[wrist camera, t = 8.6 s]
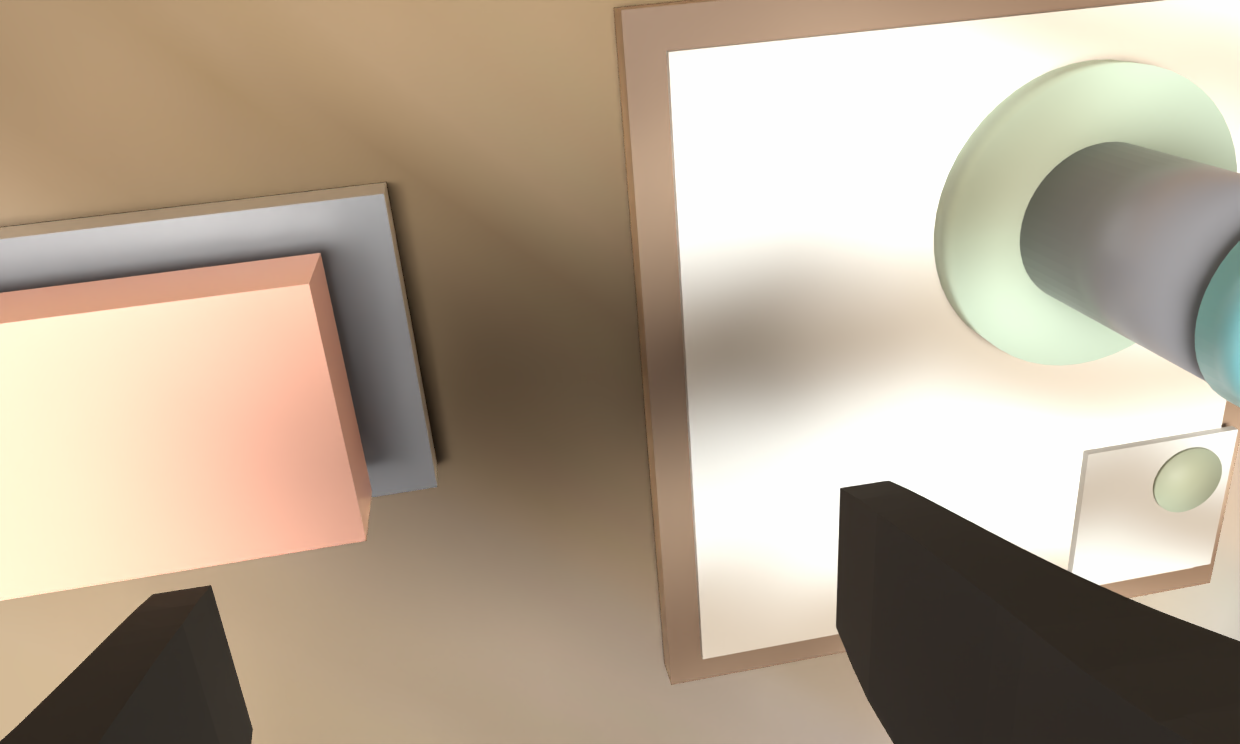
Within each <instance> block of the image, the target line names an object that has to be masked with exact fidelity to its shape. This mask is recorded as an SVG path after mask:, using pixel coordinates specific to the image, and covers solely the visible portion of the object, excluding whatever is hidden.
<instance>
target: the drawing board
mask: <svg viewBox="0 0 1240 744" xmlns="http://www.w3.org/2000/svg"><path fill="white" fill-rule="evenodd" d="M614 17H615V30H616V43H617V56H618V69H619V81H620V94H621V107H622V120H623V133H624V146H625V159H626V172H627V185H628V198H629V211H630V224H631V237H632V249H633V262H634V275H635V288H636V301H637V314H638V327H639V340H640V353H641V366H642V379H643V392H644V405H645V417H646V430H647V443H648V456H649V469H650V482H651V495H652V508H653V521H654V534H655V547H656V560H657V573H658V585H659V598H660V611H661V624H662V637H663V650H664V663H665V667H666V670H667V673H668V676H669V679H670V682H671V685H673V684H678V683H684V682H689V681H694V680H700V679H705V678H710V677H715V676H721V675H726V674H731V673H737V672H742V671H747V670H752V669H758V668H763V667H768V666H774V665H779V664H784V663H789V662H795V661H800V660H805V659H810V658H816V657H821V656H826V655H832V654H837V653H842V652H846V650H845V648H844V645H843V643H842V640H841V638H840V636H839V633H838V631H837V629H836V605H837V572H838V538H839V505H840V488H843V487H849V486H856V485H862V484H868V483H875V482H881V481H888V480H889V481H891V482H894V483H896V484H898V485H900V486H903V487H905V488H907V489H909V490H911V491H913V492H915V493H917V494H919V495H921V496H923V497H925V498H927V499H929V500H931V501H933V502H935V503H937V504H939V505H941V506H942V507H944V508H946V509H948V510H950V511H952V512H954V513H956V514H958V515H960V516H961V517H963V518H965V519H967V520H969V521H971V522H973V523H975V524H977V525H978V526H980V527H982V528H984V529H986V530H988V531H990V532H992V533H994V534H996V535H998V536H999V537H1001V538H1003V539H1005V540H1007V541H1009V542H1011V543H1013V544H1015V545H1017V546H1019V547H1021V548H1023V549H1025V550H1027V551H1029V552H1031V553H1033V554H1035V555H1037V556H1039V557H1041V558H1043V559H1045V560H1047V561H1049V562H1051V563H1053V564H1055V565H1057V566H1059V567H1061V568H1063V569H1065V570H1067V571H1069V572H1072V573H1074V574H1076V575H1078V576H1080V577H1082V578H1085V579H1087V580H1089V581H1091V582H1093V583H1096V584H1098V585H1100V586H1102V587H1105V588H1107V589H1109V590H1111V591H1113V592H1116V593H1118V594H1120V595H1122V596H1124V597H1127V598H1132V597H1138V596H1143V595H1148V594H1154V593H1159V592H1164V591H1169V590H1175V589H1180V588H1185V587H1190V586H1196V585H1201V584H1206V583H1210V580H1211V575H1212V570H1213V566H1214V561H1215V556H1216V551H1217V546H1218V542H1219V537H1220V532H1221V527H1222V522H1223V518H1224V513H1225V508H1226V503H1227V499H1228V494H1229V489H1230V484H1231V479H1232V475H1233V470H1234V465H1235V460H1236V455H1237V451H1238V446H1239V441H1240V407H1238V406H1236V405H1234V404H1233V403H1231V402H1229V401H1227V400H1226V399H1224V398H1222V397H1221V396H1219V395H1218V394H1217V393H1216V392H1215V391H1214V390H1213V389H1212V388H1211V387H1210V386H1209V384H1208V383H1207V382H1206V381H1204V380H1202V379H1200V378H1198V377H1197V376H1195V375H1193V374H1191V373H1189V372H1188V371H1186V370H1184V369H1182V368H1180V367H1178V366H1177V365H1175V364H1173V363H1171V362H1169V361H1168V360H1166V359H1164V358H1162V357H1160V356H1158V355H1157V354H1155V353H1153V352H1151V351H1149V350H1148V349H1146V348H1144V347H1142V346H1140V345H1138V344H1137V343H1135V342H1133V341H1131V340H1129V339H1128V338H1126V337H1124V336H1122V335H1120V334H1118V333H1117V332H1115V331H1113V330H1111V329H1109V328H1108V327H1106V326H1104V325H1102V324H1100V323H1098V322H1097V321H1095V320H1093V319H1091V318H1089V317H1088V316H1086V315H1084V314H1082V313H1080V312H1078V311H1077V310H1075V309H1073V308H1071V307H1069V306H1068V305H1066V304H1064V303H1062V302H1060V301H1058V300H1057V299H1055V298H1053V297H1051V296H1049V295H1048V294H1046V293H1044V292H1043V291H1042V290H1040V289H1039V288H1038V287H1037V286H1036V285H1035V284H1034V283H1033V281H1032V280H1031V279H1030V277H1029V275H1028V274H1027V272H1026V270H1025V267H1024V265H1023V261H1022V257H1021V251H1020V232H1021V226H1022V221H1023V218H1024V214H1025V211H1026V209H1027V206H1028V204H1029V202H1030V200H1031V198H1032V196H1033V194H1034V192H1035V191H1036V189H1037V188H1038V186H1039V185H1040V183H1041V182H1042V181H1043V180H1044V178H1045V177H1046V176H1047V175H1048V174H1049V173H1050V172H1051V171H1052V170H1053V169H1054V168H1055V167H1056V166H1057V165H1058V164H1059V163H1061V162H1062V161H1063V160H1064V159H1066V158H1067V157H1069V156H1070V155H1072V154H1074V153H1075V152H1077V151H1079V150H1081V149H1084V148H1086V147H1089V146H1092V145H1095V144H1099V143H1104V142H1125V143H1129V144H1133V145H1137V146H1141V147H1144V148H1148V149H1152V150H1155V151H1159V152H1163V153H1167V154H1170V155H1174V156H1178V157H1181V158H1185V159H1189V160H1193V161H1196V162H1200V163H1204V164H1207V165H1211V166H1215V167H1219V168H1222V169H1226V170H1230V171H1233V172H1237V173H1240V0H688V1H678V2H668V3H658V4H647V5H637V6H627V7H617V8H614Z"/></svg>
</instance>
